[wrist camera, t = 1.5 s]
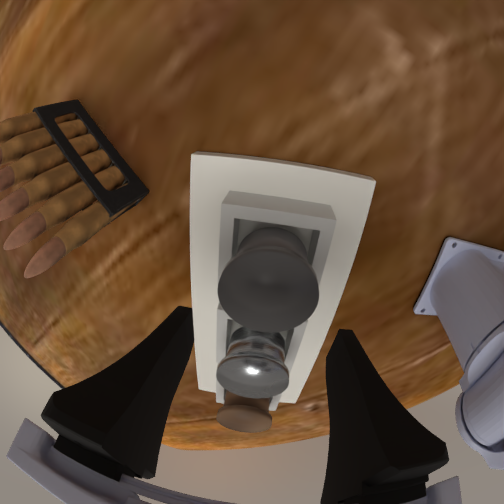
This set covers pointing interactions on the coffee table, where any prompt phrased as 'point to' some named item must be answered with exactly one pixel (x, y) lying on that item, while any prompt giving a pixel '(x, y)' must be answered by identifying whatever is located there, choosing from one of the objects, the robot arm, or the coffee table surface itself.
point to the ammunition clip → (62, 179)
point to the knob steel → (254, 364)
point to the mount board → (260, 216)
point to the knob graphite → (269, 282)
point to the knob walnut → (245, 413)
